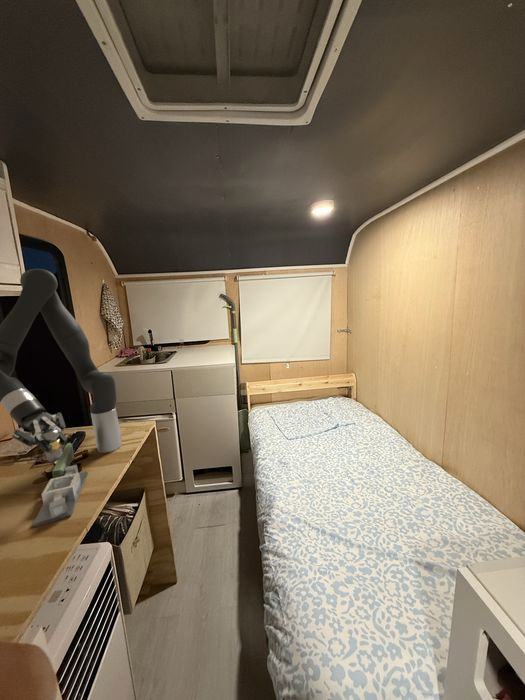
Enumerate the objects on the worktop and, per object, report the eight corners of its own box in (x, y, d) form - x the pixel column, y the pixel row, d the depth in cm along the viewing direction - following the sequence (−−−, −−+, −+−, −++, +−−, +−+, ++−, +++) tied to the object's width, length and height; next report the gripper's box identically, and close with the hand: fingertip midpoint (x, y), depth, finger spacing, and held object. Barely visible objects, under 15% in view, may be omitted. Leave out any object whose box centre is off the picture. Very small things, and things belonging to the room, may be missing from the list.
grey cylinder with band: (53, 454, 89) (48, 428, 87) (66, 453, 89) (60, 427, 87) (44, 461, 85) (38, 434, 83) (57, 461, 85) (51, 434, 83)
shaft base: (58, 480, 98) (55, 467, 97) (87, 473, 101) (85, 461, 100) (33, 527, 78) (29, 511, 77) (70, 516, 81) (67, 501, 80)
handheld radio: (52, 489, 94) (69, 453, 117) (64, 486, 96) (78, 451, 118) (50, 471, 93) (67, 438, 116) (61, 469, 94) (76, 437, 117)
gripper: (-1, 408, 79) (36, 452, 78) (50, 391, 93) (83, 429, 91) (-8, 423, 82) (28, 466, 81) (43, 405, 95) (75, 442, 94)
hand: (57, 446), depth 86 cm, fingers closed on grey cylinder with band, 4 cm apart
